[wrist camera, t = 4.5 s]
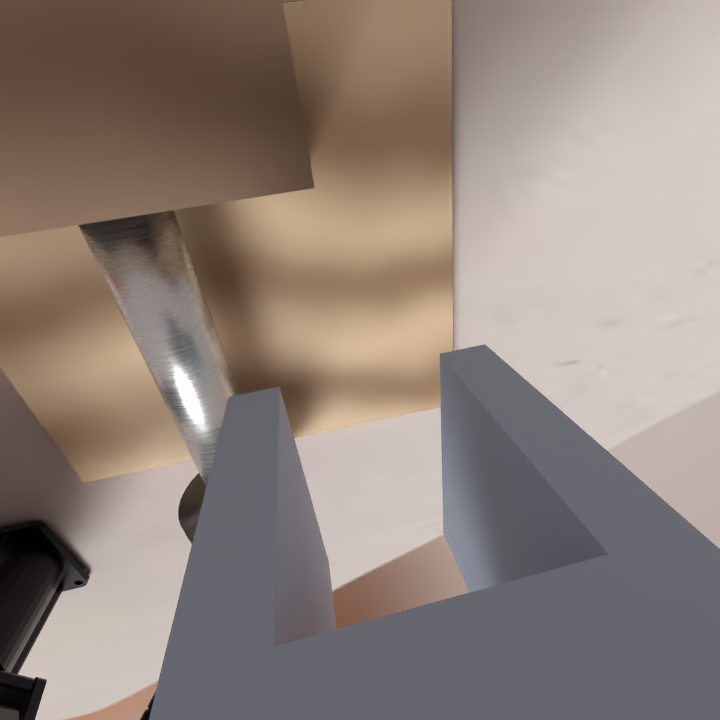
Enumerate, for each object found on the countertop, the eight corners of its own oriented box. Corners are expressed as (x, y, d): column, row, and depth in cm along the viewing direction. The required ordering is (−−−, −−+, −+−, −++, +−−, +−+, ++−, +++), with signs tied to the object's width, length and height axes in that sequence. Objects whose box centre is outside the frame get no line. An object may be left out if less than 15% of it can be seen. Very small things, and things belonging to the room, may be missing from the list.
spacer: (476, 524, 13) (658, 860, 6) (292, 571, 12) (301, 995, 6) (484, 344, 9) (885, 694, 3) (228, 397, 8) (85, 974, 2)
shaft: (305, 455, 22) (309, 547, 17) (203, 477, 21) (175, 579, 16) (215, 132, 14) (169, 112, 8) (48, 155, 13) (-112, 150, 8)
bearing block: (446, 395, 23) (513, 492, 16) (91, 470, 21) (-4, 616, 14) (441, -6, 14) (590, -172, 7) (-187, 66, 12) (-824, -65, 5)
